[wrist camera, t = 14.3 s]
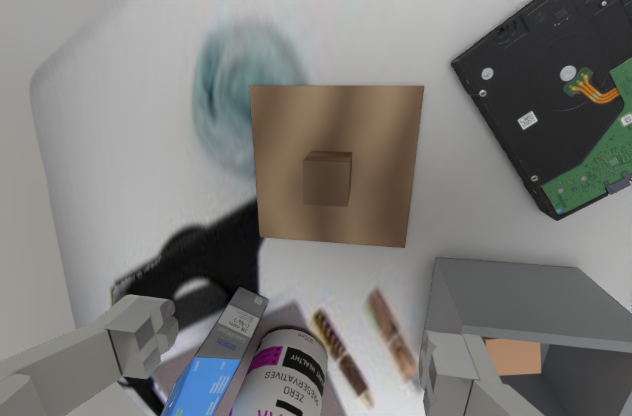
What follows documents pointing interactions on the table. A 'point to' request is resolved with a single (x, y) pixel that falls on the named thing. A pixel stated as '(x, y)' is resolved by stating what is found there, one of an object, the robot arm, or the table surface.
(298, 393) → the supplement can
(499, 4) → the table surface
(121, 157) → the table surface
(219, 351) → the label tape cartridge
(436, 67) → the table surface
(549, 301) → the storage box
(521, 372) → the block
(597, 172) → the disk drive
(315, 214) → the lid
